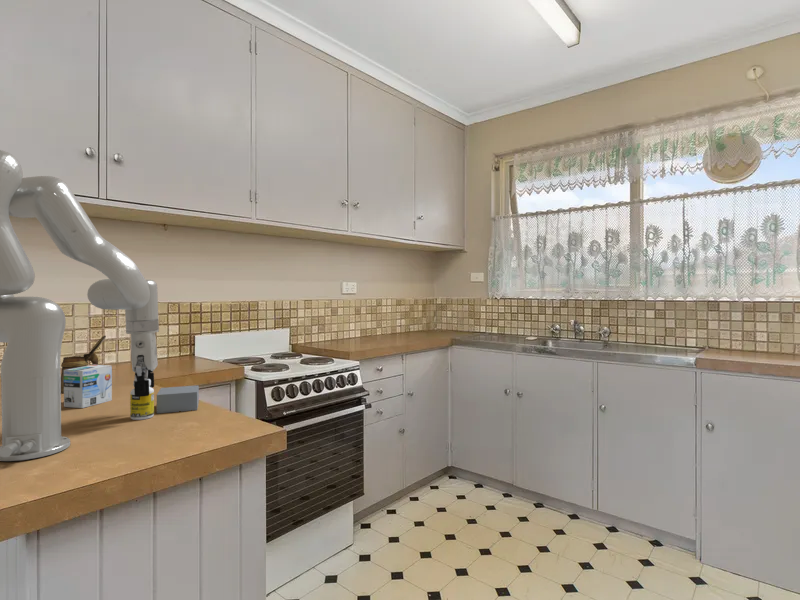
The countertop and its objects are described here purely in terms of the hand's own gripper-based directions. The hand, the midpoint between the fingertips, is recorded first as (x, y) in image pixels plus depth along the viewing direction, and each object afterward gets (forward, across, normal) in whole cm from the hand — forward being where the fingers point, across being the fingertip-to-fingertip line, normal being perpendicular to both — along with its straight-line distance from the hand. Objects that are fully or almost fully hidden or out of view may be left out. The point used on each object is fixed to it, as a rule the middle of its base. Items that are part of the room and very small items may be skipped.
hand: (144, 391), depth 121 cm
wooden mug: (+7, +46, +25) cm, 53 cm away
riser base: (+7, +7, -7) cm, 12 cm away
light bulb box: (+7, +22, +18) cm, 29 cm away
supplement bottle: (+7, -1, +1) cm, 7 cm away
